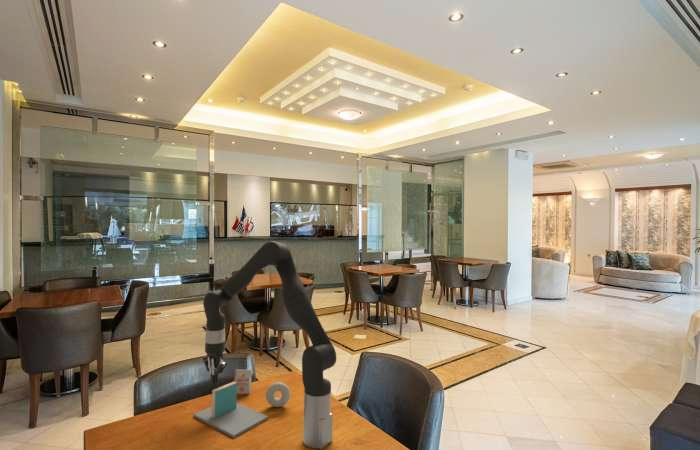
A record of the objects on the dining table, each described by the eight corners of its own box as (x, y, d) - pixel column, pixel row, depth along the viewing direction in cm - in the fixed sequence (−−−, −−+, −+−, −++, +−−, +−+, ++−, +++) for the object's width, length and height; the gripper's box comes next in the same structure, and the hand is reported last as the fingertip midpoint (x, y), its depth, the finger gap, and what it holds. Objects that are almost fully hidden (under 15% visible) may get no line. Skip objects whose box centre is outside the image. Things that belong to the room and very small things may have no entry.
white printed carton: (235, 390, 164) (236, 368, 164) (251, 390, 164) (251, 368, 164) (233, 394, 160) (234, 371, 160) (249, 394, 161) (249, 371, 161)
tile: (236, 407, 146) (237, 382, 146) (214, 418, 138) (215, 391, 138) (233, 406, 147) (233, 381, 147) (211, 416, 139) (212, 390, 139)
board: (268, 418, 140) (268, 416, 140) (233, 438, 127) (233, 435, 127) (228, 401, 154) (228, 398, 154) (193, 416, 141) (193, 414, 141)
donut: (290, 404, 152) (291, 380, 152) (289, 409, 148) (289, 384, 148) (266, 404, 152) (267, 380, 152) (264, 408, 148) (265, 383, 148)
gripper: (233, 341, 146) (232, 384, 146) (213, 334, 154) (212, 375, 154) (217, 345, 140) (216, 391, 140) (197, 338, 148) (195, 381, 147)
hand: (214, 383), depth 147 cm, fingers closed
